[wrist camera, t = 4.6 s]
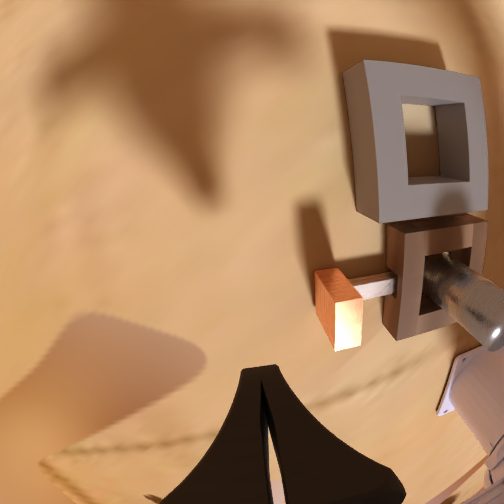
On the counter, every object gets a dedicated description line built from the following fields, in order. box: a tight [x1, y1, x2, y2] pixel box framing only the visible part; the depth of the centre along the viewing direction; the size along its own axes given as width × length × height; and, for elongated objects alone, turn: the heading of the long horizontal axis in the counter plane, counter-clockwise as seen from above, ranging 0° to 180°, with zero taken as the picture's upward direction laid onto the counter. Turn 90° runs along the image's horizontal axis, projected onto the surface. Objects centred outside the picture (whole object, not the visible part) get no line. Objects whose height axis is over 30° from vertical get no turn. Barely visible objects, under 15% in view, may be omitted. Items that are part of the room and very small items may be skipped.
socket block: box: [383, 214, 488, 341], centre depth 18 cm, size 7×7×2 cm
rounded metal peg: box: [422, 252, 504, 352], centre depth 15 cm, size 3×3×8 cm
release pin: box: [314, 267, 398, 351], centre depth 16 cm, size 6×3×4 cm, turn 97°
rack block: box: [342, 60, 488, 223], centre depth 14 cm, size 8×8×3 cm
